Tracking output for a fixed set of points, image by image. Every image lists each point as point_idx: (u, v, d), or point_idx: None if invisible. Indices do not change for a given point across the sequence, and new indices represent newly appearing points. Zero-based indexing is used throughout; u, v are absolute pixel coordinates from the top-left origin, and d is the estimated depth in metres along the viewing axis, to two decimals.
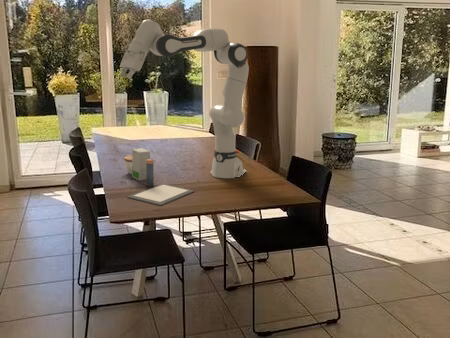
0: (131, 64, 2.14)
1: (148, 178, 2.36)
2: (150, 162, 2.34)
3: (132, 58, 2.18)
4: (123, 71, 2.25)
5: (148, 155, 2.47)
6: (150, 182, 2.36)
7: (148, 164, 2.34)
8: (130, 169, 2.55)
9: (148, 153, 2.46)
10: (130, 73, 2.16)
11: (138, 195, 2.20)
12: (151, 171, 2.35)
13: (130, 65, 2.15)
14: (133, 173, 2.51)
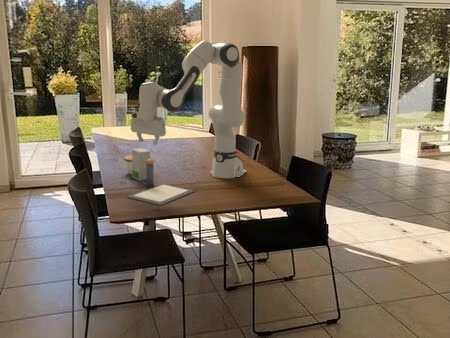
0: (155, 133, 2.26)
1: (148, 178, 2.36)
2: (150, 162, 2.34)
3: (149, 125, 2.28)
4: (139, 136, 2.34)
5: (148, 155, 2.47)
6: (150, 182, 2.36)
7: (148, 164, 2.34)
8: (130, 169, 2.55)
9: (148, 153, 2.46)
10: (156, 140, 2.29)
11: (138, 195, 2.20)
12: (151, 171, 2.35)
13: (153, 133, 2.27)
14: (133, 173, 2.51)
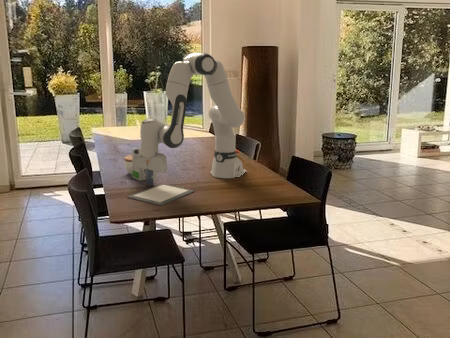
0: (157, 169, 2.31)
1: (148, 178, 2.36)
2: None
3: (151, 161, 2.33)
4: (145, 171, 2.38)
5: None
6: (150, 182, 2.36)
7: None
8: (130, 169, 2.55)
9: None
10: (155, 174, 2.35)
11: (138, 195, 2.20)
12: (151, 171, 2.35)
13: (155, 169, 2.32)
14: (133, 173, 2.51)
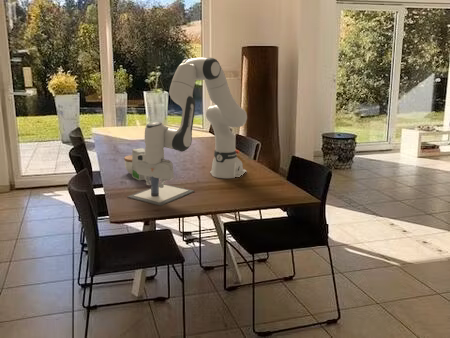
0: (162, 176, 2.13)
1: (153, 187, 2.18)
2: None
3: (156, 168, 2.14)
4: (147, 179, 2.21)
5: None
6: (155, 191, 2.18)
7: None
8: (130, 169, 2.55)
9: None
10: (162, 183, 2.16)
11: (138, 195, 2.20)
12: (156, 180, 2.17)
13: (161, 177, 2.14)
14: (133, 173, 2.51)
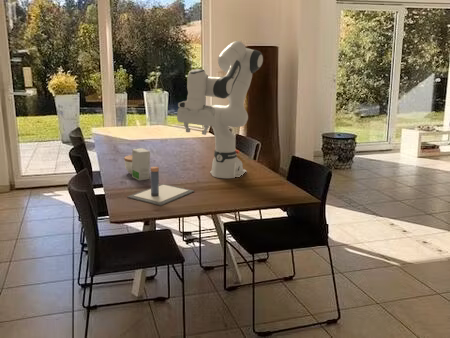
0: (205, 122, 2.18)
1: (153, 187, 2.18)
2: (155, 170, 2.16)
3: (198, 114, 2.19)
4: (186, 126, 2.26)
5: (148, 155, 2.47)
6: (155, 191, 2.18)
7: (153, 172, 2.16)
8: (130, 169, 2.55)
9: (148, 153, 2.46)
10: (205, 129, 2.20)
11: (138, 195, 2.20)
12: (156, 180, 2.17)
13: (203, 123, 2.19)
14: (133, 173, 2.51)
